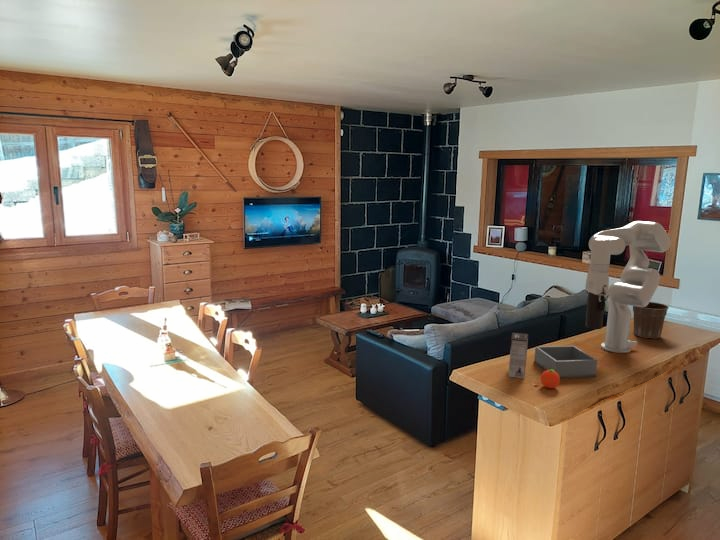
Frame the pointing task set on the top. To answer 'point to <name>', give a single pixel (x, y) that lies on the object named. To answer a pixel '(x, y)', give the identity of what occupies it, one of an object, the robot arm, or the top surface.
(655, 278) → the robot arm
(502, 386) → the top surface
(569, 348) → the tote
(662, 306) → the plant pot
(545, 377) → the clementine
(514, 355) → the coffee box
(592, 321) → the vinegar
